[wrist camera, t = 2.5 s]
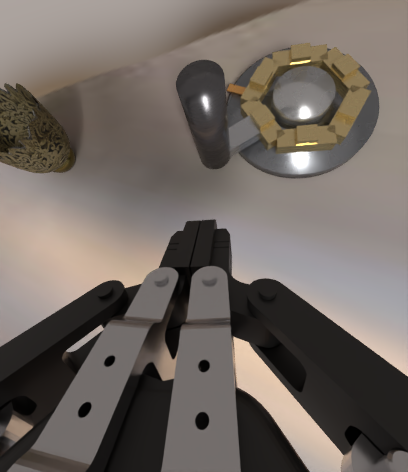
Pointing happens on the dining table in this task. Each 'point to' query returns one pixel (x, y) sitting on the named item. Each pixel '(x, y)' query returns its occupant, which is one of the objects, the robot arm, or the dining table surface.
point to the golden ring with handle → (258, 115)
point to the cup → (31, 134)
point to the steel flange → (304, 119)
